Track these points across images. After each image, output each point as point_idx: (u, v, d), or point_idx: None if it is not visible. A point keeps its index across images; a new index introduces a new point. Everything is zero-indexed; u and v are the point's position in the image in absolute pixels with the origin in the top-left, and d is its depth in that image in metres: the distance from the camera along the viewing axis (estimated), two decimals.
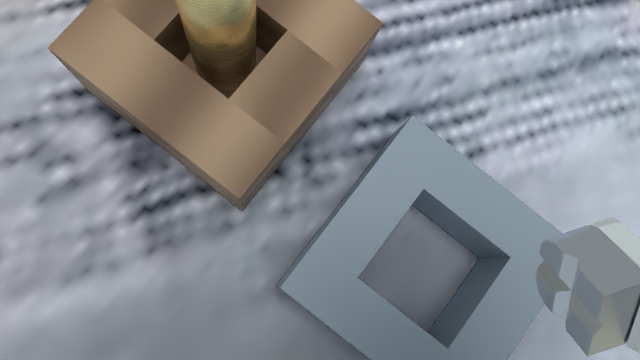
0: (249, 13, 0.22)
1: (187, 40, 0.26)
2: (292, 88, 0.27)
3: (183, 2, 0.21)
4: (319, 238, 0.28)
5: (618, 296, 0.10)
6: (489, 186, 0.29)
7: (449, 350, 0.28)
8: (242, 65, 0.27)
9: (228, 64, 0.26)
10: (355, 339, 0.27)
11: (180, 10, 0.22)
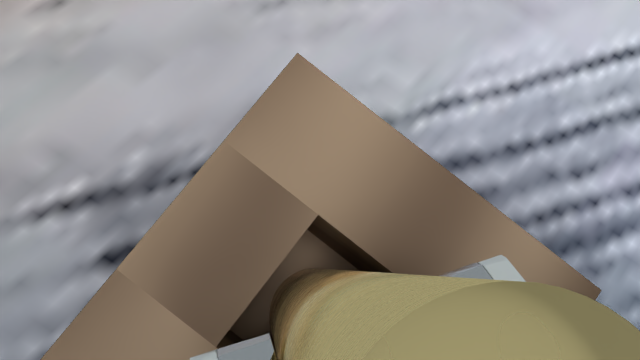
0: None
1: None
2: None
3: None
4: None
5: None
6: None
7: None
8: None
9: None
10: None
11: None
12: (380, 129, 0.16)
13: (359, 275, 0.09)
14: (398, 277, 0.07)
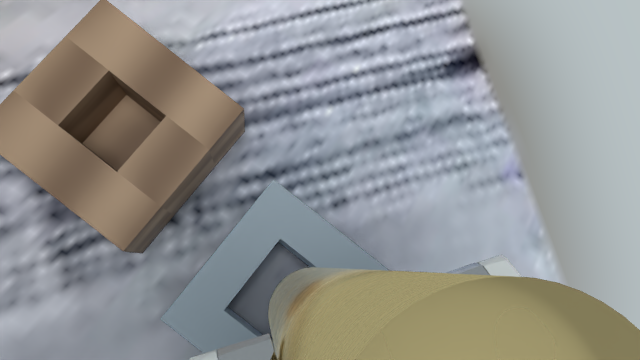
0: None
1: None
2: (168, 163, 0.34)
3: None
4: (193, 279, 0.35)
5: None
6: (334, 236, 0.36)
7: None
8: None
9: None
10: None
11: None
12: (141, 33, 0.35)
13: (357, 273, 0.09)
14: (396, 274, 0.07)
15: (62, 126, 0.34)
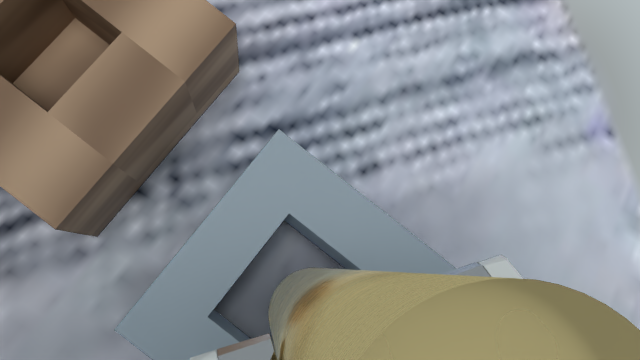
0: None
1: None
2: (124, 100, 0.23)
3: None
4: (163, 271, 0.24)
5: None
6: (366, 210, 0.25)
7: None
8: None
9: None
10: None
11: None
12: None
13: (358, 274, 0.09)
14: (397, 275, 0.07)
15: None
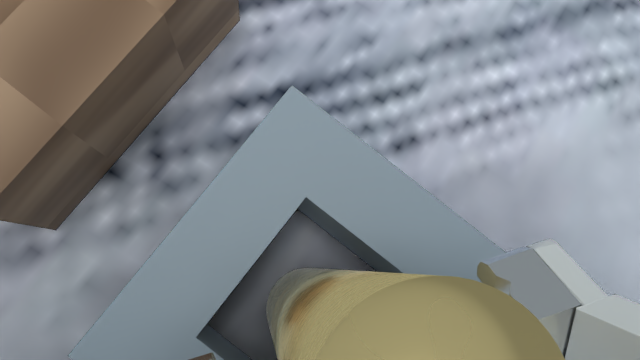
0: None
1: None
2: (78, 38, 0.17)
3: None
4: (136, 276, 0.18)
5: (547, 321, 0.10)
6: (409, 193, 0.19)
7: None
8: None
9: None
10: None
11: None
12: None
13: (342, 273, 0.11)
14: (369, 274, 0.09)
15: None
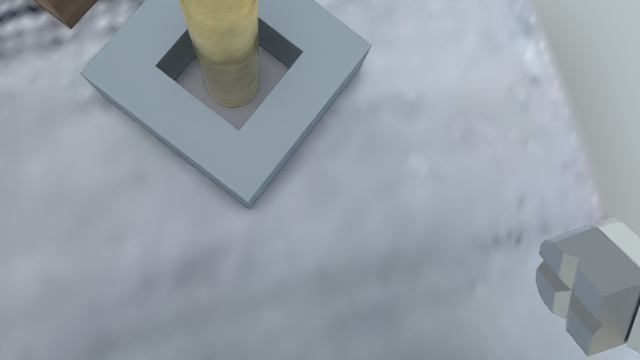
0: (252, 35, 0.25)
1: None
2: None
3: (193, 28, 0.23)
4: (119, 30, 0.30)
5: (618, 296, 0.10)
6: None
7: (240, 132, 0.30)
8: (246, 78, 0.30)
9: (234, 78, 0.29)
10: (150, 119, 0.29)
11: (191, 34, 0.25)
12: None
13: None
14: None
15: None
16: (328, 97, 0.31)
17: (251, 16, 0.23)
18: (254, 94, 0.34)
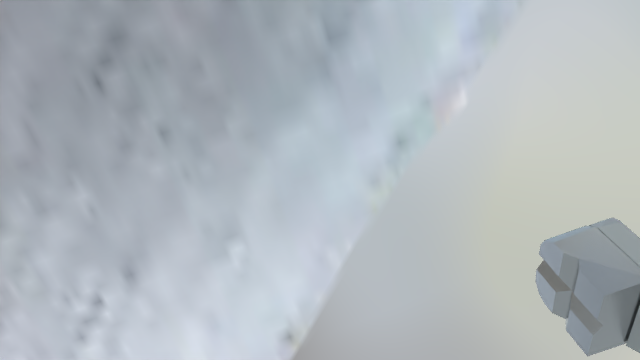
0: None
1: None
2: None
3: None
4: None
5: (618, 296, 0.10)
6: None
7: None
8: None
9: None
10: None
11: None
12: None
13: None
14: None
15: None
16: None
17: None
18: None
